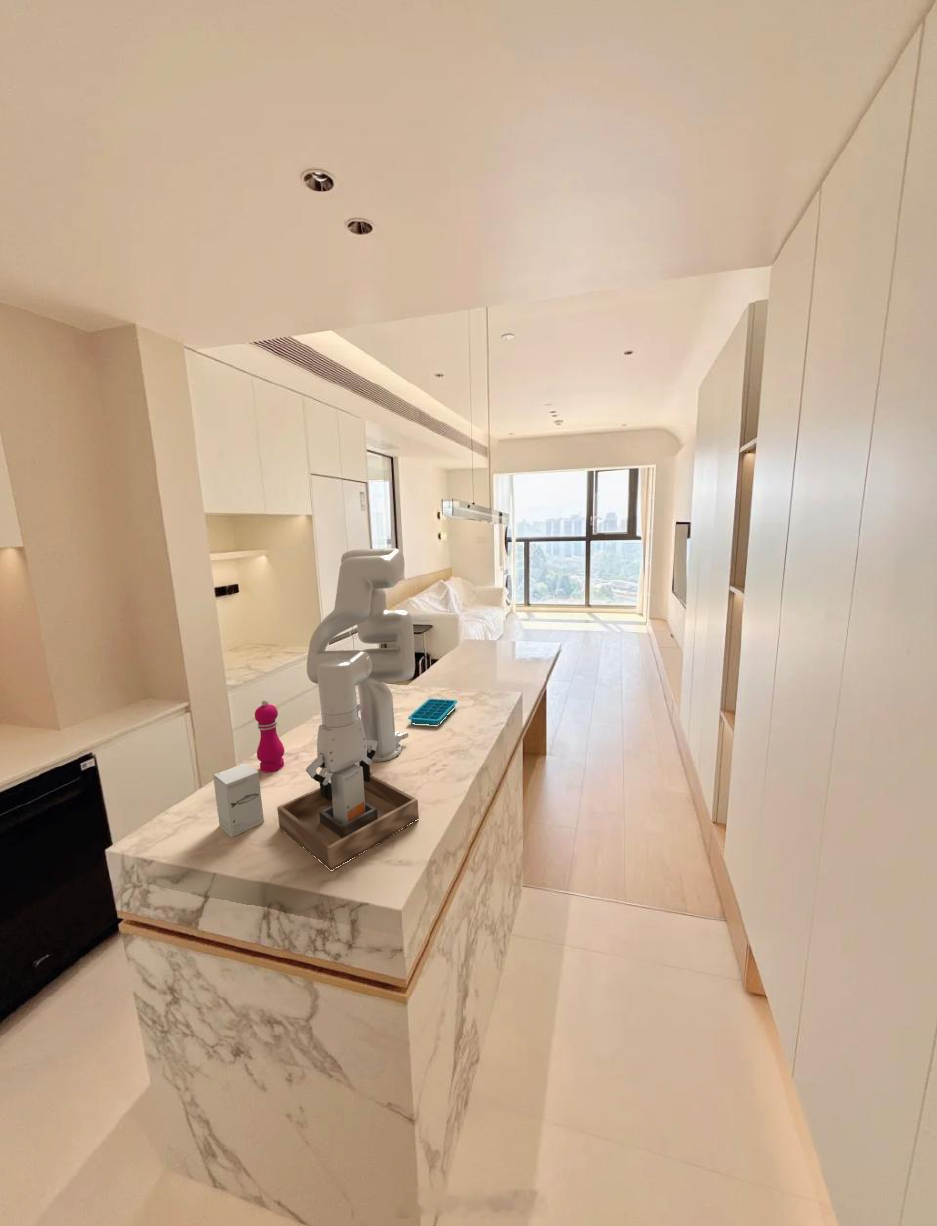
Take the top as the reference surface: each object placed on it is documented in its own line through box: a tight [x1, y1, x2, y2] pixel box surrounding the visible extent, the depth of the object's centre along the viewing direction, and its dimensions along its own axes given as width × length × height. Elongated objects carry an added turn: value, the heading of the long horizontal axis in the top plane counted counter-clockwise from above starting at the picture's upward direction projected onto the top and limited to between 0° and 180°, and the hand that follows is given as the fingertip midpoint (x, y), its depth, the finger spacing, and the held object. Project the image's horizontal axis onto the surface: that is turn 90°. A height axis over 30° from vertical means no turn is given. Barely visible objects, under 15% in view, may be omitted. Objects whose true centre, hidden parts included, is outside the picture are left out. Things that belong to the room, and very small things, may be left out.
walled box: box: [276, 773, 420, 871], centre depth 106 cm, size 22×22×5 cm
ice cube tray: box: [407, 698, 458, 725], centre depth 169 cm, size 12×20×3 cm, turn 163°
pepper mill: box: [254, 699, 285, 773], centre depth 134 cm, size 7×7×20 cm
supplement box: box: [212, 762, 265, 838], centre depth 107 cm, size 7×7×13 cm
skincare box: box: [330, 763, 366, 824], centre depth 106 cm, size 6×4×12 cm
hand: (346, 788), depth 106 cm, fingers open, 9 cm apart
